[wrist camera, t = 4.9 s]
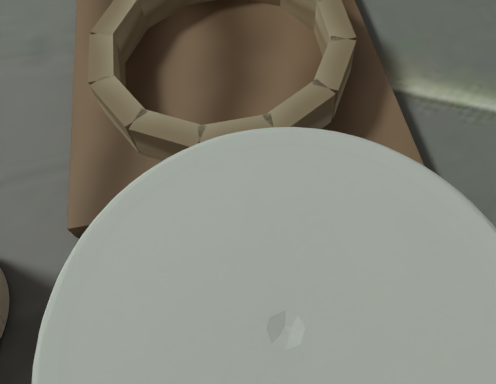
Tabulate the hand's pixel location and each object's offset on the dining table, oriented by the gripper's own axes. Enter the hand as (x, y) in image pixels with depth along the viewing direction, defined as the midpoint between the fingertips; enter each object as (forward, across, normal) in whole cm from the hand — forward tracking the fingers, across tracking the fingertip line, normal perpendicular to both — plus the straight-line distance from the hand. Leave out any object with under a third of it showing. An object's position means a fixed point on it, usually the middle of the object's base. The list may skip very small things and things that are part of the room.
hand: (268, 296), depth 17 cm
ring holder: (+16, 0, +8) cm, 18 cm away
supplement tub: (+2, 0, -6) cm, 7 cm away
